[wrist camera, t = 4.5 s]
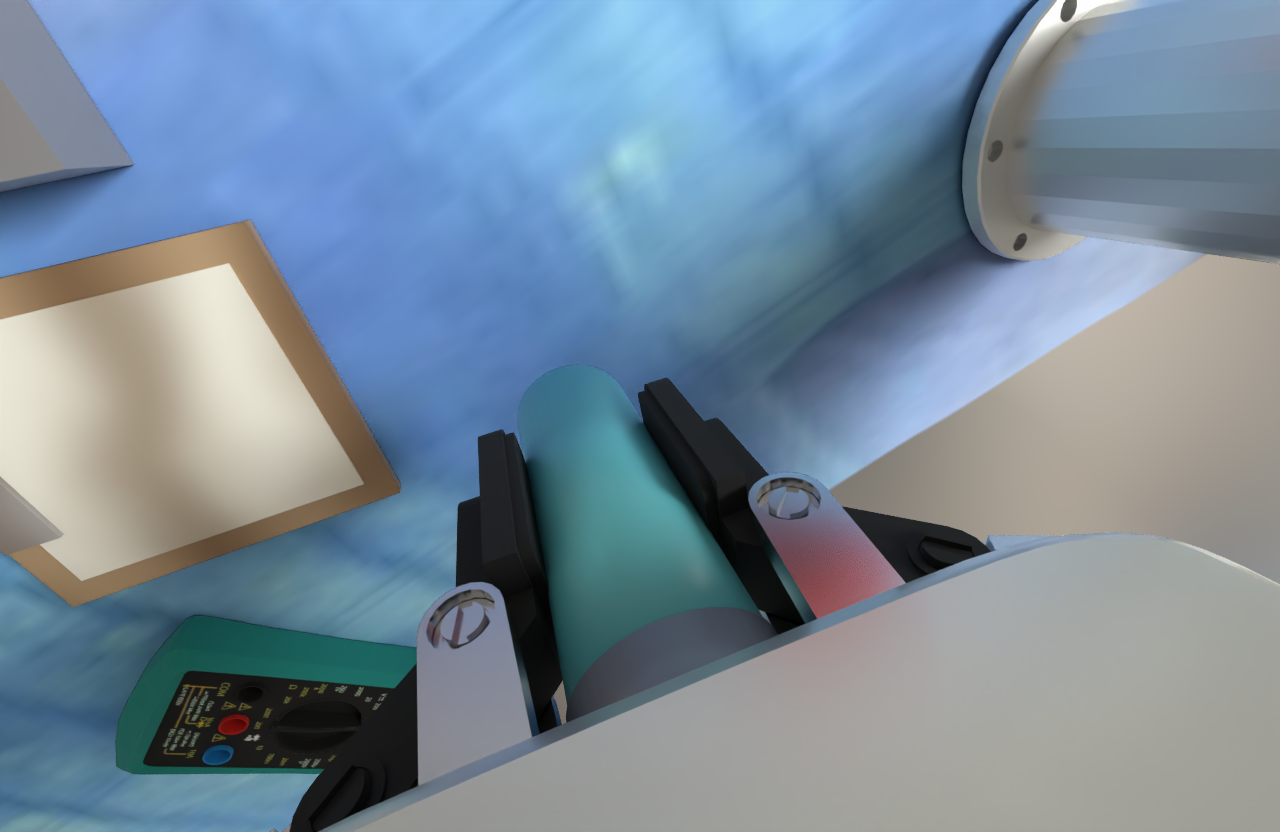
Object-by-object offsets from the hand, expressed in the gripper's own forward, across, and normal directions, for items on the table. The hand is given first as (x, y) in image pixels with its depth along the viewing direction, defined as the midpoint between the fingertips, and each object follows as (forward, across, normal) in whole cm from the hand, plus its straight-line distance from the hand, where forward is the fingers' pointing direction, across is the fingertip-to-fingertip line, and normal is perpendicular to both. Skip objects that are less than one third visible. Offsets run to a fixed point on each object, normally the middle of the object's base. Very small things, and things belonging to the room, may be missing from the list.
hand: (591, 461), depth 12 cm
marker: (+2, 0, 0) cm, 2 cm away
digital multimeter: (+10, +15, +15) cm, 24 cm away
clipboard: (+10, +14, 0) cm, 17 cm away
